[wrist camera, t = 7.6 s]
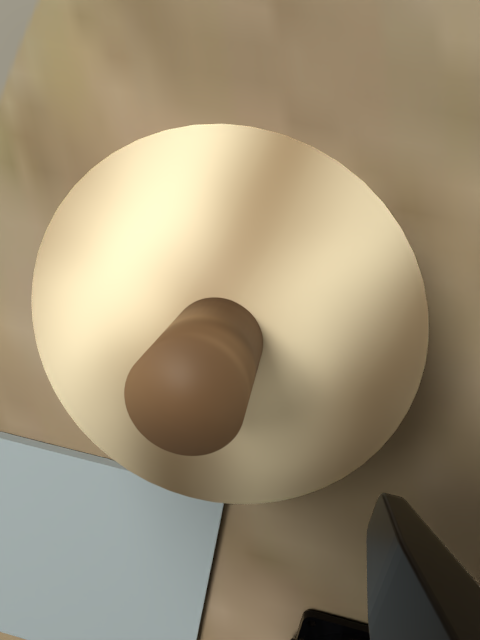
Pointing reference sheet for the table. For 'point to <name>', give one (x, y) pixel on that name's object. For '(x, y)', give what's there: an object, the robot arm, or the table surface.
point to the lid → (230, 314)
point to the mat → (98, 549)
